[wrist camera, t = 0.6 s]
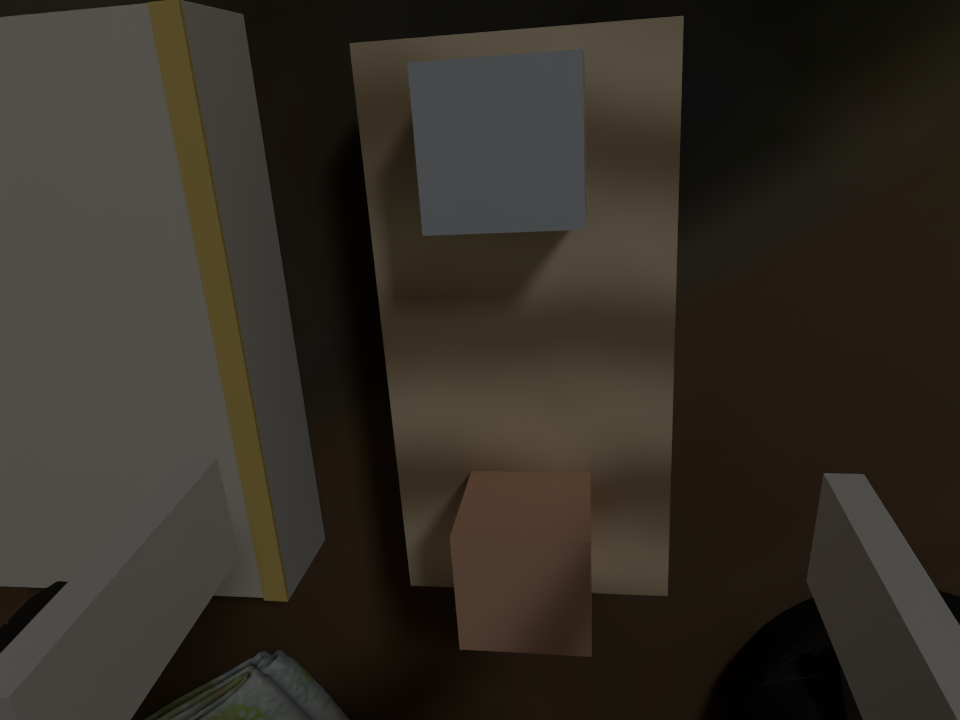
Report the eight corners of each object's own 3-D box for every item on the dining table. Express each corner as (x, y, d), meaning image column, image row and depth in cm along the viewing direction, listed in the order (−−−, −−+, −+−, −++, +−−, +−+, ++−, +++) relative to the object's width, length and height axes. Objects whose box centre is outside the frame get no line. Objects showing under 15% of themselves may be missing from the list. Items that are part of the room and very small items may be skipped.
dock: (325, 539, 40) (287, 601, 35) (61, 531, 42) (-8, 588, 37) (243, 14, 31) (178, -1, 26) (-83, 44, 33) (-197, 35, 29)
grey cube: (586, 205, 25) (585, 229, 21) (451, 211, 26) (422, 235, 22) (584, 57, 24) (582, 49, 19) (440, 68, 25) (407, 62, 20)
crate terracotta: (591, 574, 30) (591, 656, 26) (479, 570, 31) (459, 649, 27) (590, 472, 29) (589, 541, 24) (471, 470, 30) (449, 537, 25)
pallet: (655, 512, 36) (667, 596, 30) (439, 507, 38) (410, 585, 32) (664, 32, 29) (683, 16, 23) (397, 53, 31) (349, 43, 25)
